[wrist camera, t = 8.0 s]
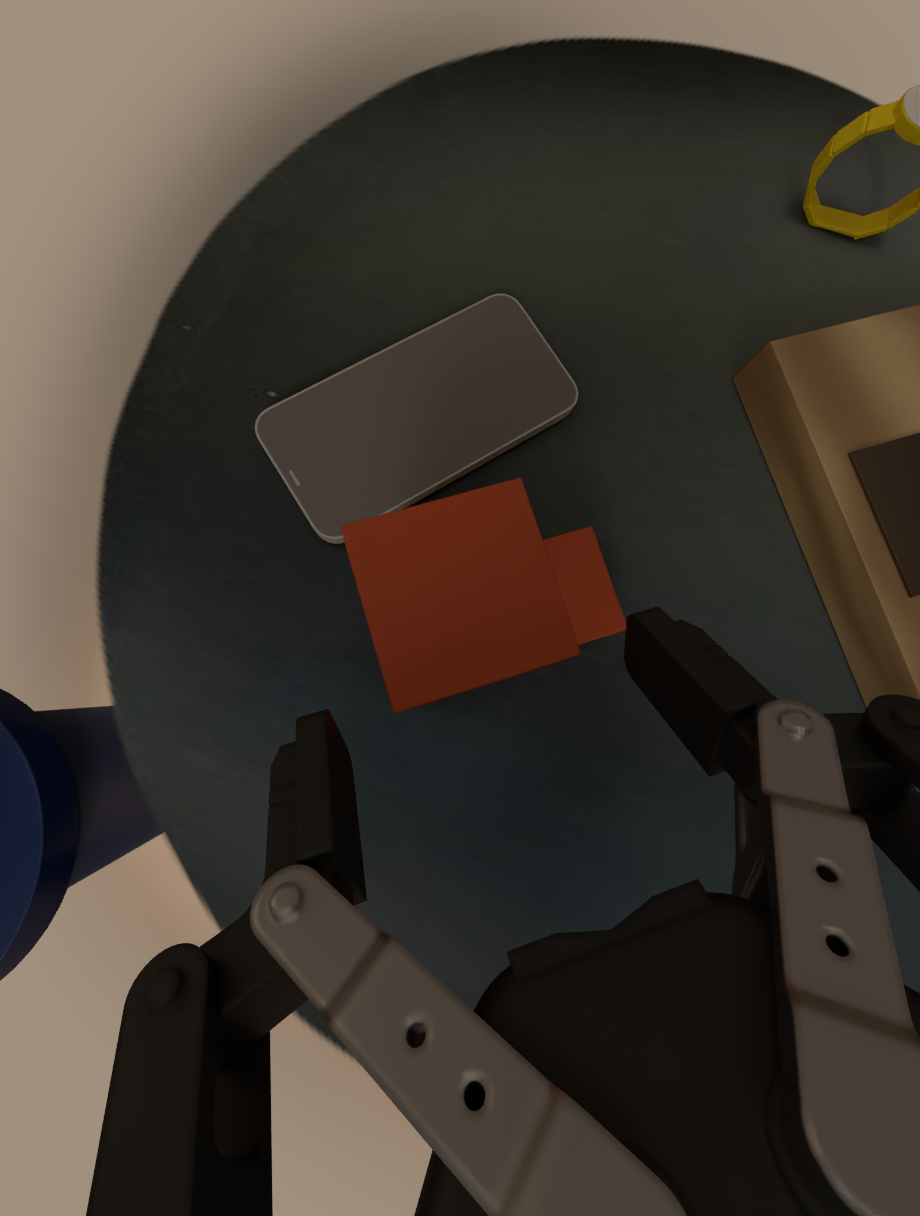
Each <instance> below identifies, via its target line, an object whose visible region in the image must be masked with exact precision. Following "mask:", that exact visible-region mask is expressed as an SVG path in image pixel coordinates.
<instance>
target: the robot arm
mask: <svg viewBox="0 0 920 1216" xmlns="http://www.w3.org/2000/svg"><path fill="white" fill-rule="evenodd" d="M624 660H625V665H626V668H627V671H628V673H629V675H630V676H631V678H632V679H633V681H634V682H635V683H636V684H637V686H638V687H639V688H640V689H641V691H642V692H643V693H644V695H645V696H646V697H647V698H648V700H649V701H650V702H651V703H652V705H653V706H654V707H655V708H656V710H657V711H658V712H659V713H660V715H661V716H662V717H663V719H664V720H665V721H666V722H667V724H668V725H669V726H670V727H671V729H672V730H673V731H674V732H675V734H676V735H677V736H678V737H679V739H680V740H681V741H682V743H683V744H684V745H685V746H686V748H687V749H688V750H689V751H690V753H691V754H692V755H693V756H694V758H695V759H696V760H697V761H698V763H699V764H700V765H701V767H702V768H703V769H704V770H705V772H706V773H707V774H708V775H709V777H710V776H713V775H716V774H719V773H721V772H724V771H726V772H727V773H728V774H729V775H730V777H731V778H732V779H733V780H734V781H735V786H734V797H735V847H736V860H735V870H734V875H733V883H732V895H730V894H725V893H713V892H707V893H706V891H705V890H704V888H703V887H702V885H701V884H700V882H699V880H698V879H697V880H694V881H692V882H689V883H686V884H684V885H681V886H678V887H676V888H673V889H671V890H668V891H665V892H663V893H660V894H658V895H655V896H652V897H651V898H650V899H649V900H648V901H646V902H645V903H644V904H643V905H641V906H640V907H639V908H638V909H637V910H635V911H634V912H633V913H632V914H630V915H629V916H628V917H627V918H626V919H624V920H623V921H622V922H621V923H619V924H618V925H617V926H616V927H614V928H613V929H610V930H602V931H587V932H571V933H555V934H553V935H550V936H547V937H545V938H542V939H540V940H537V941H534V942H532V943H529V944H526V945H524V946H521V947H519V948H516V949H513V950H511V951H508V952H507V955H508V958H509V962H510V966H509V967H507V968H506V969H505V970H504V971H502V972H501V973H500V974H499V975H498V976H497V977H496V978H495V979H494V980H493V981H492V983H491V984H490V985H489V986H488V988H487V989H486V991H485V992H484V993H483V995H482V996H481V998H480V1000H479V1002H478V1004H477V1005H476V1007H475V1009H474V1011H473V1010H471V1009H470V1008H469V1007H468V1006H467V1005H466V1004H465V1003H464V1002H463V1001H462V1000H461V999H459V998H458V997H457V996H456V995H455V994H454V993H453V992H452V991H451V990H450V989H449V988H447V987H446V986H445V985H444V984H443V983H442V982H441V981H440V980H439V979H438V978H437V977H436V976H434V975H433V974H432V973H431V972H430V971H429V970H428V969H427V968H426V967H425V966H424V965H422V964H421V963H420V962H419V961H418V960H417V959H416V958H415V957H414V956H413V955H412V954H410V953H409V952H408V951H407V950H406V949H405V948H404V947H403V946H402V945H401V944H400V943H398V942H397V941H396V940H395V939H394V938H392V937H391V936H390V935H388V934H384V933H383V932H381V931H380V930H379V929H378V928H377V927H376V926H375V925H373V924H372V923H371V922H370V921H369V920H368V919H367V918H366V917H365V916H364V915H363V914H362V913H361V912H359V911H358V910H357V909H356V908H355V907H354V905H356V904H359V903H361V902H364V901H367V896H366V887H365V878H364V868H363V859H362V850H361V840H360V831H359V822H358V813H357V803H356V794H355V785H354V775H353V767H352V762H351V758H350V754H349V751H348V748H347V746H346V744H345V742H344V740H343V738H342V736H341V733H340V731H339V729H338V727H337V725H336V723H335V721H334V719H333V717H332V715H331V713H330V711H329V710H328V709H325V710H322V711H319V712H316V713H312V714H309V715H306V716H303V717H299V718H297V720H296V741H295V742H292V743H289V744H286V745H283V746H280V748H279V750H278V753H277V755H276V757H275V759H274V761H273V763H272V765H271V773H270V789H271V791H270V792H269V806H270V808H269V811H268V830H267V849H266V868H265V877H264V881H263V884H262V886H261V888H260V889H259V891H258V893H257V894H256V896H255V899H254V901H253V903H252V905H251V906H250V907H249V908H248V910H247V911H246V912H245V913H244V914H243V915H242V916H241V917H240V918H239V919H238V920H236V921H235V922H234V923H233V924H231V925H230V926H228V927H227V928H226V929H224V930H223V931H221V932H220V933H219V934H217V935H216V936H214V937H213V938H212V939H210V940H209V941H207V942H206V943H204V944H203V945H202V946H200V947H198V946H196V945H193V944H189V943H182V944H177V945H174V946H171V947H169V948H167V949H165V950H164V951H162V952H161V953H159V954H158V955H157V956H156V957H154V958H153V959H152V960H151V961H150V962H149V963H148V964H147V965H146V966H145V967H144V968H143V970H142V971H141V972H140V973H139V975H138V976H137V978H136V979H135V981H134V983H133V985H132V987H131V988H130V990H129V993H128V995H127V998H126V1001H125V1005H124V1010H123V1015H122V1021H121V1027H120V1032H119V1038H118V1043H117V1048H116V1054H115V1059H114V1065H113V1071H112V1076H111V1081H110V1087H109V1092H108V1098H107V1103H106V1109H105V1115H104V1120H103V1125H102V1131H101V1136H100V1142H99V1148H98V1153H97V1159H96V1164H95V1169H94V1175H93V1180H92V1186H91V1191H90V1197H89V1202H88V1208H87V1213H86V1216H272V1151H271V1150H272V1148H271V1076H270V1075H271V1074H270V1030H271V1029H272V1028H273V1027H275V1026H276V1025H277V1024H278V1023H280V1022H281V1021H282V1020H283V1019H285V1018H286V1017H287V1016H288V1015H289V1014H291V1013H292V1012H293V1011H294V1010H296V1009H297V1008H298V1007H299V1006H301V1005H302V1004H303V1003H304V1002H305V1001H307V1000H308V999H309V1000H310V1001H311V1002H312V1003H313V1004H314V1006H315V1007H316V1008H317V1009H318V1010H319V1012H320V1013H321V1014H322V1016H323V1017H324V1020H325V1022H326V1023H327V1024H328V1026H329V1027H330V1028H331V1030H332V1031H333V1032H334V1033H335V1034H336V1036H337V1037H338V1038H339V1039H340V1040H341V1042H342V1043H343V1044H344V1045H345V1046H346V1048H347V1049H348V1050H349V1051H350V1052H351V1053H352V1055H353V1056H354V1057H355V1058H356V1059H357V1061H358V1062H359V1063H360V1064H361V1065H362V1066H363V1068H364V1069H365V1070H366V1071H367V1072H368V1074H369V1075H370V1076H371V1077H372V1078H373V1079H374V1081H375V1082H376V1083H377V1084H378V1085H379V1087H380V1088H381V1089H382V1090H383V1091H384V1092H385V1094H386V1095H387V1096H388V1097H389V1098H390V1099H391V1101H392V1102H393V1103H394V1104H395V1105H396V1107H397V1108H398V1109H399V1110H400V1111H401V1113H402V1114H403V1115H404V1116H405V1117H406V1118H407V1120H408V1121H409V1122H410V1123H411V1124H412V1126H413V1127H414V1128H415V1129H416V1130H417V1132H418V1133H419V1134H420V1135H421V1136H422V1137H423V1139H424V1140H425V1141H426V1142H427V1143H428V1145H429V1146H430V1147H431V1148H432V1149H433V1151H432V1154H431V1158H430V1161H429V1165H428V1168H427V1172H426V1176H425V1179H424V1183H423V1187H422V1190H421V1194H420V1197H419V1201H418V1205H417V1208H416V1212H415V1215H414V1216H920V993H918V992H916V991H914V990H913V989H911V988H909V987H907V986H906V985H904V984H903V980H902V976H901V971H900V967H899V962H898V958H897V953H896V949H895V945H894V940H893V936H892V931H891V927H890V922H889V918H888V913H887V909H886V904H885V900H884V895H883V891H882V886H881V882H880V877H879V873H878V868H877V864H876V859H875V855H874V851H873V846H872V842H871V839H872V840H873V841H874V842H875V843H876V844H877V845H878V846H879V848H880V849H881V850H882V851H883V852H884V853H885V854H886V855H887V856H888V857H889V859H890V860H891V861H892V862H893V863H894V864H895V865H896V866H897V867H898V868H899V870H900V871H901V872H902V873H903V874H904V875H905V876H906V877H907V878H908V879H909V881H910V882H911V883H912V884H913V885H914V886H915V887H916V888H917V889H918V890H919V892H920V793H919V792H917V791H916V790H915V788H916V787H917V788H919V789H920V700H918V699H915V698H912V697H908V696H903V695H895V694H889V695H882V696H878V697H876V698H874V699H873V700H872V701H871V702H870V703H869V705H868V707H867V709H866V711H865V712H864V713H840V714H822V713H820V712H819V711H817V710H816V709H814V708H812V707H811V706H808V705H806V704H803V703H800V702H797V701H792V700H778V699H777V698H776V697H775V696H773V695H772V694H771V693H770V692H769V691H768V690H767V689H766V688H765V687H764V686H763V685H761V684H760V683H759V682H758V681H757V680H756V679H755V678H754V677H753V676H752V675H751V674H750V673H748V672H747V671H746V670H745V669H744V668H743V667H742V666H741V665H740V664H739V663H738V662H737V661H735V660H734V659H733V658H732V657H731V656H730V657H729V656H728V653H727V652H726V651H725V650H724V649H722V648H721V647H720V646H719V645H718V646H717V645H716V642H715V641H714V640H713V639H712V638H711V637H709V636H708V635H707V634H706V633H705V632H704V631H703V630H702V629H700V628H698V627H696V626H694V625H692V624H690V623H688V622H686V621H683V620H679V621H676V622H674V621H673V620H672V619H671V618H670V617H669V616H668V615H667V614H666V613H665V612H664V611H663V610H662V609H660V608H658V607H654V608H651V609H647V610H644V611H641V612H638V613H634V614H631V615H629V616H628V617H627V621H626V636H625V650H624Z"/></svg>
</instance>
